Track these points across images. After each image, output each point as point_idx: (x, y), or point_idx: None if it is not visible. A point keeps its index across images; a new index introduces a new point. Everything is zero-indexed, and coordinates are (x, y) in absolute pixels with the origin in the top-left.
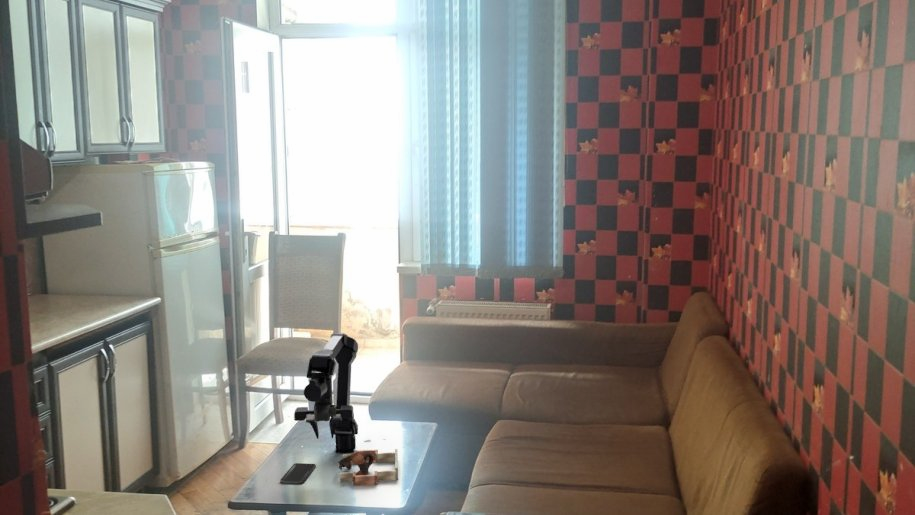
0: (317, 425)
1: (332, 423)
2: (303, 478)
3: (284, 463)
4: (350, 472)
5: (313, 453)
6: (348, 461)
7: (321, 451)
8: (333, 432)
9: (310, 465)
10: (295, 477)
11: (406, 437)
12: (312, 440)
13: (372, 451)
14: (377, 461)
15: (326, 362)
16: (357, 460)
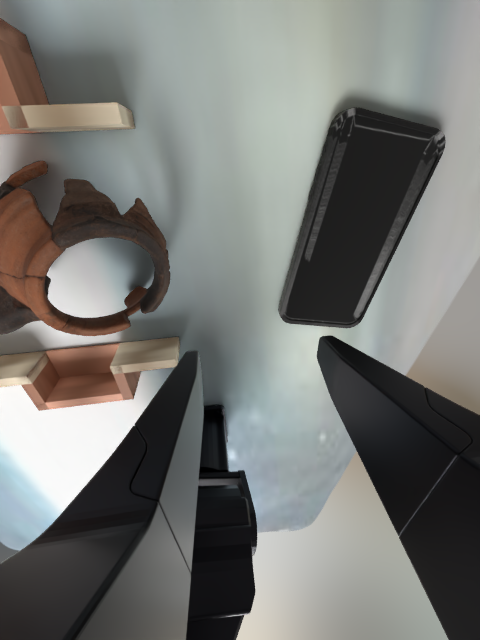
0: (374, 475)
1: (144, 527)
2: (333, 168)
3: (384, 336)
4: (45, 119)
5: (291, 402)
6: (69, 207)
7: (268, 414)
8: (168, 389)
9: (300, 311)
10: (368, 184)
11: (35, 497)
12: (296, 462)
13: (59, 398)
14: (36, 353)
15: None
16: (3, 216)
